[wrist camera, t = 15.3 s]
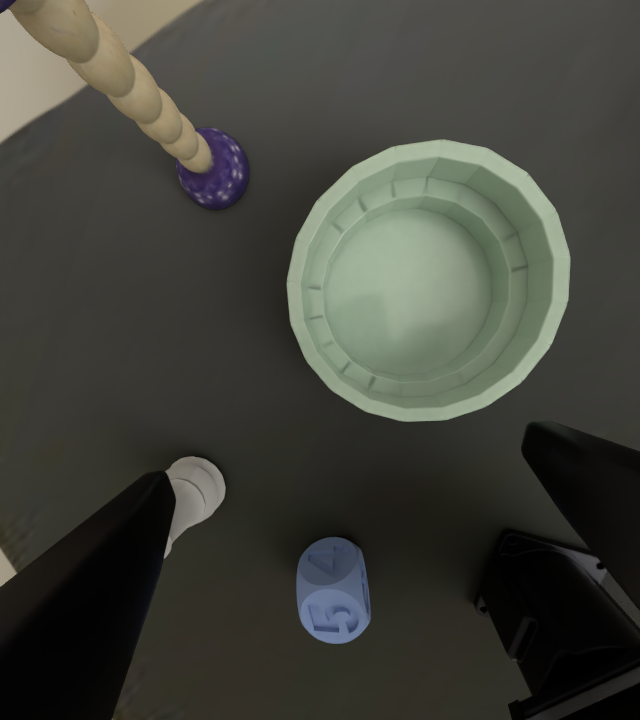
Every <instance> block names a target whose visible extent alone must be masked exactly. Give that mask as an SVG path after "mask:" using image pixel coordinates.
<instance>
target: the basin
mask: <svg viewBox="0 0 640 720" xmlns="http://www.w3.org/2000/svg"><path fill="white" fill-rule="evenodd" d="M555 211H556V209H555V208H554V206H553V205H552V204H551V203H550V201H549V200H548V199H547V197H546V196H545V195H544V193H543V192H542V191H541V189H540V188H539V187H538V186H537V184H536V183H535V182H534V180H533V179H532V178H531V176H530V175H528V173H527V172H525V171H524V170H522V169H521V168H519V167H517V166H516V165H514V164H513V163H511V162H509V161H508V160H506V159H504V158H503V157H501V156H500V155H498V154H496V153H495V152H493V151H492V150H490V149H488V148H484V147H479V146H474V145H469V144H464V143H459V142H454V141H449V140H444V139H442V140H434V141H427V142H420V143H413V144H406V145H399V146H395V147H394V146H392V147H390V148H388V149H386V150H384V151H382V152H380V153H378V154H376V155H374V156H372V157H370V158H368V159H366V160H364V161H362V162H360V163H358V164H356V165H354V166H352V167H351V168H350V169H349V170H348V171H347V172H346V173H345V174H344V175H343V176H342V177H341V178H340V179H338V180H337V181H336V182H335V183H334V184H333V185H332V186H331V187H330V188H329V189H328V190H327V191H326V192H325V193H324V194H323V195H322V196H321V197H320V198H319V199H318V200H317V201H316V203H315V204H314V206H313V208H312V210H311V212H310V213H309V215H308V217H307V219H306V221H305V222H304V224H303V226H302V228H301V230H300V231H299V233H298V235H297V237H296V241H295V243H294V248H293V252H292V257H291V262H290V267H289V271H288V276H287V283H286V285H287V296H288V307H289V317H290V323H291V327H292V329H293V332H294V334H295V336H296V339H297V341H298V343H299V346H300V348H301V351H302V353H303V355H304V358H305V359H306V362H307V363H308V364H309V365H310V366H311V367H312V369H313V370H314V371H315V372H316V373H317V375H318V376H319V377H320V378H321V379H322V380H323V382H324V383H325V384H326V385H327V386H328V387H329V389H330V390H332V391H333V392H334V393H336V394H338V395H339V396H341V397H342V398H344V399H345V400H347V401H349V402H350V403H352V404H353V405H355V406H357V407H358V408H360V409H361V410H363V411H365V412H368V413H372V414H376V415H380V416H383V417H387V418H391V419H395V420H398V421H405V422H409V421H440V420H444V419H445V420H448V419H451V418H454V417H457V416H460V415H463V414H466V413H469V412H472V411H475V410H478V409H481V408H484V407H485V406H488V405H490V404H491V403H492V402H494V401H495V400H497V399H498V398H500V397H501V396H503V395H504V394H505V393H507V392H508V391H510V390H511V389H513V388H514V387H516V386H517V385H518V384H520V383H521V382H522V381H523V380H524V379H525V378H526V376H527V375H528V374H529V373H530V371H531V370H532V369H533V368H534V366H535V365H536V364H537V363H538V361H539V360H540V359H541V358H542V356H543V355H544V354H545V353H546V351H547V350H548V349H549V348H550V345H551V344H552V342H553V339H554V337H555V334H556V332H557V329H558V327H559V324H560V321H561V319H562V316H563V314H564V311H565V309H566V306H567V303H566V302H568V295H569V275H570V256H569V255H570V253H569V250H568V246H567V243H566V240H565V236H564V233H563V230H562V226H561V223H560V220H559V216H558V213H557V212H555Z"/></svg>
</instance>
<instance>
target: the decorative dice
mask: <svg viewBox="0 0 640 720" xmlns="http://www.w3.org/2000/svg"><path fill="white" fill-rule="evenodd" d="M297 604H298V611H299V616H300V620H301V622H302V624H303V626H304V627H305V628H306V630H307V631H308V632H309V633H310V634H311V635H313V636H314V637H315V638H317V639H319V640H321V641H324V642H327V643H332V644H341V643H346V642H349V641H351V640H353V639H355V638H356V637H357V636H359V635H360V634H361V633H362V632H363V631H364V630H365V628H366V627H367V626H368V624H369V622H370V599H369V589H368V581H367V575H366V569H365V563H364V558H363V554H362V551H361V549H360V548H359V547H358V546H357V545H355V544H354V543H352V542H351V541H349V540H346V539H343V538H339V537H328V538H324V539H321V540H319V541H317V542H315V543H313V544H312V545H311V546H309V547H308V548H307V549H306V550H305V552H304V553H303V554H302V556H301V557H300V560H299V563H298V569H297Z"/></svg>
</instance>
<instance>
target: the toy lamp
mask: <svg viewBox="0 0 640 720" xmlns="http://www.w3.org/2000/svg"><path fill="white" fill-rule="evenodd" d="M6 9H9V10H11V12H12V13H13V15H14V16H15V18H16V19H17V20H18V22H19V23H20V24H21V25H22V26H23V27H24V29H25V30H26V31H27V32H28V33H29V34H30V35H31V36H32V37H33V38H34V39H35V40H37V41H38V42H39V43H40V44H41V45H43V46H44V47H45V48H47V49H49V50H50V51H52V52H53V53H55V54H57V55H59V56H61V57H63V58H66V59H67V61H68V63H69V64H70V65H71V67H72V68H73V69H74V70H75V71H76V72H77V73H78V74H79V75H80V77H81V78H82V79H83V80H85V81H86V82H87V83H88V84H89V85H91V86H92V87H94V88H95V89H97V90H98V91H100V92H102V93H105V94H106V95H107V96H108V98H109V99H110V101H111V102H112V103H113V104H114V106H115V107H116V108H117V109H118V110H119V111H121V112H122V113H123V114H124V115H126V116H127V117H129V118H131V119H133V120H135V121H136V123H137V124H138V126H139V127H140V128H141V129H142V131H143V132H144V133H146V134H147V135H148V136H149V137H150V138H152V139H153V140H155V141H158V142H159V143H160V144H161V146H162V147H163V148H164V149H165V150H166V151H167V152H168V153H169V154H171V155H172V156H174V157H176V168H177V174H178V178H179V180H180V183H181V185H182V186H183V188H184V190H185V191H186V193H187V194H188V195H189V196H190V197H191V199H193V200H194V201H195V202H196V203H197V204H199V205H201V206H203V207H205V208H209V209H216V210H217V209H223V208H226V207H229V206H231V205H232V204H234V203H235V202H236V201H237V200H238V199H240V197H241V196H242V194H243V193H244V192H245V189H246V186H247V183H248V178H249V166H248V161H247V157H246V155H245V153H244V151H243V149H242V148H241V146H240V145H239V144H238V142H237V141H236V140H235V139H234V138H232V137H231V136H230V135H228V134H227V133H225V132H223V131H221V130H218V129H215V128H210V127H208V128H199V129H196V130H195V129H194V127H193V126H192V124H191V123H190V121H189V120H188V119H187V118H186V117H185V116H184V115H183V114H181V113H180V112H179V110H178V109H177V107H176V105H175V103H174V102H173V100H172V99H171V98H170V97H169V96H168V95H167V94H166V93H165V92H164V91H163V90H162V89H160V88H159V87H157V84H156V82H155V80H154V79H153V77H152V76H151V74H150V73H149V72H148V70H147V69H146V68H145V67H144V65H143V64H142V63H141V62H139V61H138V60H137V59H136V58H135V57H133V56H131V55H130V54H128V52H127V50H126V48H125V46H124V44H123V43H122V41H121V40H120V39H119V37H118V36H117V34H116V33H115V32H114V31H113V30H112V28H111V27H110V26H108V24H107V23H106V22H105V21H104V20H102V19H101V18H100V17H99V16H97V15H96V14H94V13H93V12H91V11H90V10H89V8H88V6H87V4H86V2H85V1H84V0H0V13H2V12H4V11H5V10H6Z"/></svg>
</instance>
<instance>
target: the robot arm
mask: <svg viewBox="0 0 640 720" xmlns="http://www.w3.org/2000/svg"><path fill="white" fill-rule="evenodd" d="M521 451H522V454H523V457H524V458H525V460H526V461H527V463H528V464H529V466H530V467H531V469H532V470H533V472H534V473H535V475H536V476H537V478H538V479H539V481H540V482H541V484H542V485H543V487H544V488H545V490H546V491H547V493H548V494H549V496H550V497H551V499H552V500H553V501H554V503H555V504H556V506H557V507H558V509H559V510H560V512H561V513H562V514H563V516H564V517H565V518H566V520H567V521H568V522H569V523H570V525H571V526H572V527H573V528H574V530H575V531H576V532H577V533H578V535H579V536H580V537H581V538H582V540H583V541H584V542H585V543H586V545H587V546H588V547H589V548H590V550H591V551H592V552H589V551H586V550H582V549H578V548H575V547H571V546H568V545H564V544H561V543H557V542H554V541H550V540H547V539H543V538H540V537H536V536H533V535H529V534H526V533H522V532H519V531H515V530H511V529H508V530H505V531H503V532H502V534H501V536H500V539H499V541H498V544H497V546H496V549H495V551H494V554H493V556H492V558H491V559H490V561H489V564H488V566H487V569H486V571H485V573H484V576H483V578H482V581H481V583H480V586H479V589H478V593H477V595H476V598H475V600H474V606H475V609H476V611H477V613H478V614H480V615H482V616H485V617H488V618H491V619H492V621H493V623H494V626H495V628H496V630H497V632H498V635H499V637H500V639H501V641H502V644H503V646H504V648H505V650H506V652H507V654H508V656H509V657H510V659H512V660H515V661H516V662H517V664H518V666H519V668H520V670H521V673H522V675H523V677H524V679H525V681H526V683H527V686H528V688H529V690H530V692H531V694H532V696H531V697H529V698H526V699H524V700H522V701H519V700H516V701H514V702H512V703H509V704H508V707H509V710H510V714H511V718H512V720H640V628H639V627H638V626H637V625H636V624H635V622H634V621H633V620H632V619H631V618H630V617H629V616H628V615H627V614H626V612H625V611H624V610H623V609H622V608H621V607H620V606H619V605H618V604H617V602H616V601H615V600H614V599H613V598H612V597H611V596H610V595H609V594H608V592H607V591H606V590H605V589H604V588H603V587H602V586H601V583H602V581H603V579H604V577H605V575H606V573H607V571H608V572H609V573H610V574H611V576H612V577H613V578H614V579H615V581H616V582H617V583H618V584H619V586H620V587H621V588H622V589H623V591H624V592H625V593H626V594H627V596H628V597H629V598H630V599H631V601H632V602H633V603H634V604H635V605H636V607H637V608H638V609H639V610H640V451H637V450H634V449H631V448H628V447H625V446H622V445H620V444H617V443H614V442H611V441H608V440H605V439H602V438H599V437H596V436H593V435H590V434H587V433H584V432H581V431H578V430H575V429H572V428H569V427H566V426H563V425H561V424H558V423H555V422H552V421H549V420H538V421H531V422H529V423H528V424H527V425H526V428H525V432H524V437H523V442H522V446H521ZM175 507H176V496H175V493H174V490H173V487H172V485H171V482H170V479H169V477H168V475H167V473H166V472H165V471H155V472H149V473H146V474H144V475H143V476H141V477H140V478H139V479H138V480H136V481H135V482H134V483H133V484H131V485H130V486H129V487H127V488H126V489H125V490H124V491H122V492H121V493H120V494H118V495H117V496H116V497H115V498H113V499H112V500H111V501H110V502H108V503H107V504H106V505H104V506H103V507H102V508H101V509H99V510H98V511H97V512H96V513H94V514H93V515H92V516H90V517H89V518H88V519H87V520H85V521H84V522H83V523H81V524H80V525H79V526H78V527H76V528H75V529H74V530H73V531H71V532H70V533H69V534H67V535H66V536H65V537H64V538H62V539H61V540H60V541H58V542H57V543H56V544H55V545H53V546H52V547H51V548H50V549H48V550H47V551H46V552H44V553H43V554H42V555H41V556H39V557H38V558H37V559H35V560H34V561H33V562H32V563H30V564H29V565H28V566H27V567H25V568H24V569H23V570H21V571H20V572H19V573H18V574H16V575H15V576H14V577H13V578H11V579H10V580H9V581H7V582H6V583H5V584H4V585H3V586H1V587H0V720H112V717H113V714H114V711H115V708H116V705H117V702H118V699H119V696H120V693H121V690H122V687H123V684H124V681H125V678H126V675H127V672H128V669H129V666H130V663H131V660H132V657H133V654H134V651H135V648H136V645H137V642H138V639H139V636H140V633H141V630H142V627H143V624H144V621H145V618H146V615H147V612H148V609H149V606H150V603H151V600H152V597H153V594H154V591H155V588H156V585H157V581H158V578H159V575H160V571H161V567H162V563H163V559H164V555H165V550H166V546H167V542H168V537H169V533H170V529H171V524H172V520H173V516H174V511H175ZM511 537H513V538H512V539H510V540H509V538H511ZM482 606H483V607H482Z"/></svg>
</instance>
